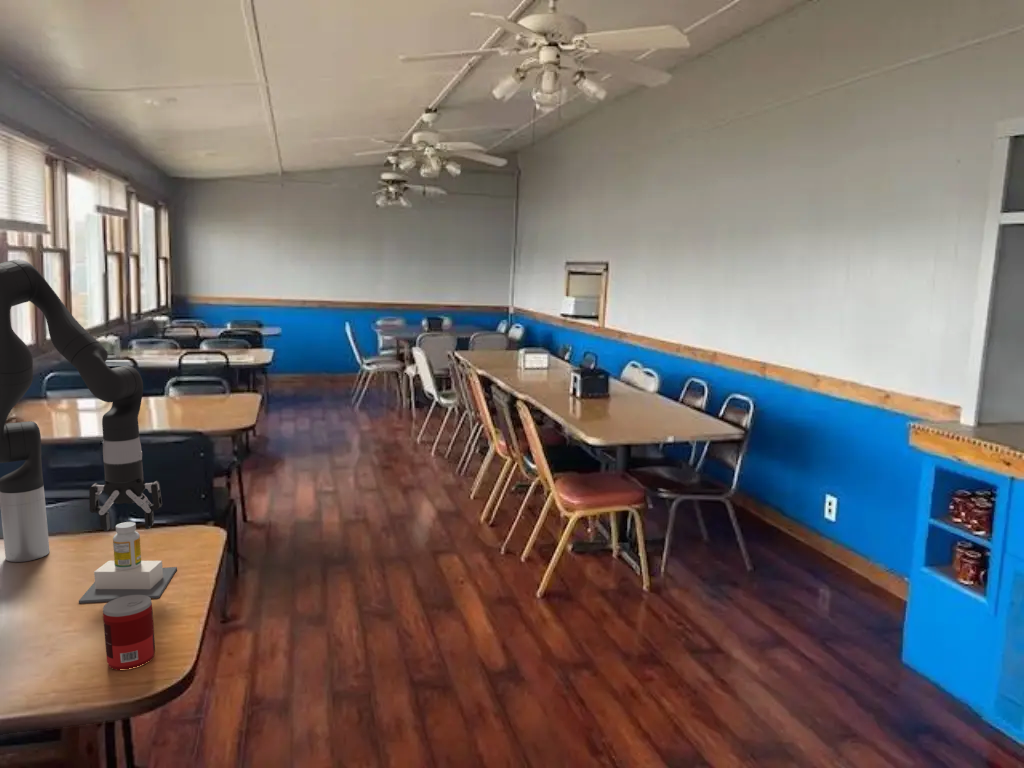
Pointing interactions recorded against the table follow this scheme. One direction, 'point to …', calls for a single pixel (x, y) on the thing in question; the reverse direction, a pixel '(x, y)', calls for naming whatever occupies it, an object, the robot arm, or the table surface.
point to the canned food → (129, 631)
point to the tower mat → (128, 590)
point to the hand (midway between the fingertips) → (127, 528)
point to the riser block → (128, 576)
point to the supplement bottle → (126, 546)
